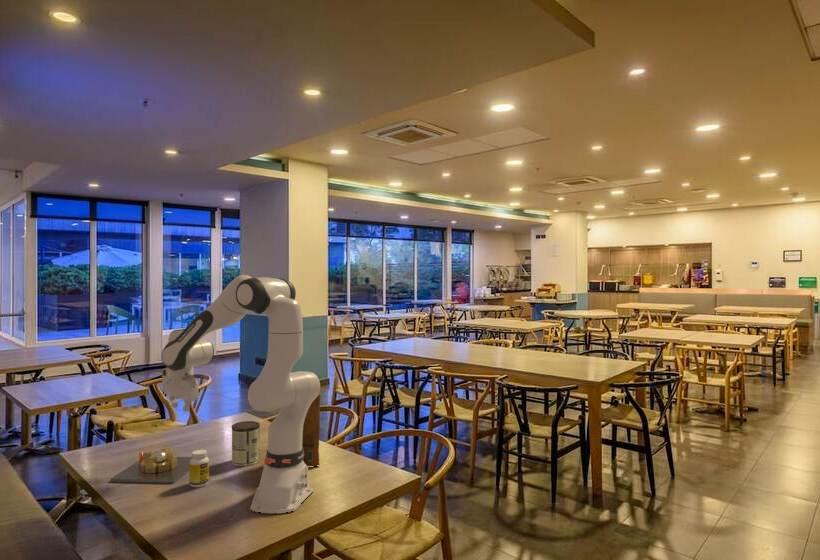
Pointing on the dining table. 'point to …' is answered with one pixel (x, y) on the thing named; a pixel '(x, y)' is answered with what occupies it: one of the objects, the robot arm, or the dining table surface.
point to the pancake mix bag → (312, 434)
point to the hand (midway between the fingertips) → (180, 409)
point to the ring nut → (151, 464)
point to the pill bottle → (199, 469)
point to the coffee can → (245, 443)
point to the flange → (137, 476)
